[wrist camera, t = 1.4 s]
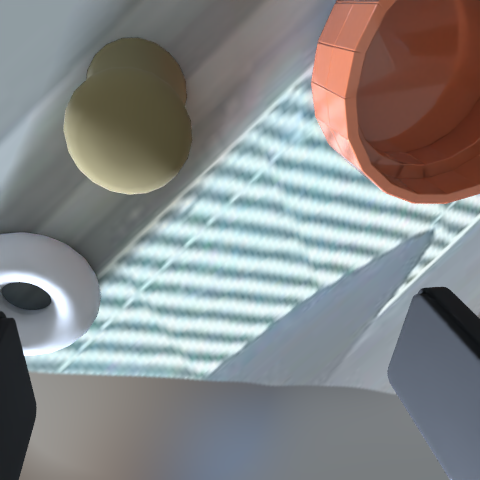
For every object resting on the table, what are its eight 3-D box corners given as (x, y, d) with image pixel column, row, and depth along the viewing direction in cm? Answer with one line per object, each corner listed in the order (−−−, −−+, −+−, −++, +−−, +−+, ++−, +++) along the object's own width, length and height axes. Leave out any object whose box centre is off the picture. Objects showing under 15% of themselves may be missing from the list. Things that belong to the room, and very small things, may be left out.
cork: (69, 49, 24) (14, 81, 14) (173, 27, 24) (185, 44, 15) (105, 149, 27) (79, 230, 17) (196, 129, 27) (219, 196, 18)
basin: (333, -80, 23) (384, -104, 18) (549, -47, 26) (648, -60, 21) (293, 168, 30) (322, 203, 25) (467, 172, 33) (525, 204, 28)
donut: (129, 293, 33) (39, 197, 27) (128, 323, 30) (26, 221, 24) (26, 351, 34) (-80, 269, 28) (15, 385, 31) (-106, 300, 25)
